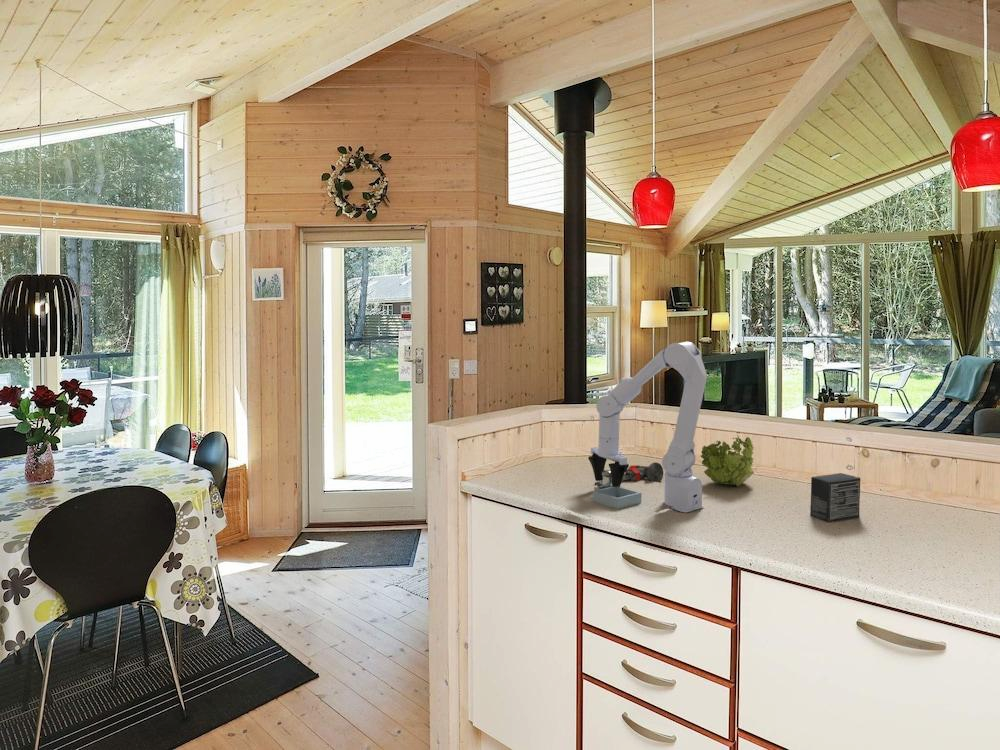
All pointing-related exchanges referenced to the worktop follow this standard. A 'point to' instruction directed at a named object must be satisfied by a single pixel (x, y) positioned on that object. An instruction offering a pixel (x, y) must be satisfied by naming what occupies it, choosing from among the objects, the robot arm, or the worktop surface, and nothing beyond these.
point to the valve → (641, 473)
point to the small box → (835, 497)
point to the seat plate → (598, 488)
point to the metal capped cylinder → (607, 478)
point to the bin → (609, 499)
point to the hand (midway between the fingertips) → (607, 484)
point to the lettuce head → (728, 462)
